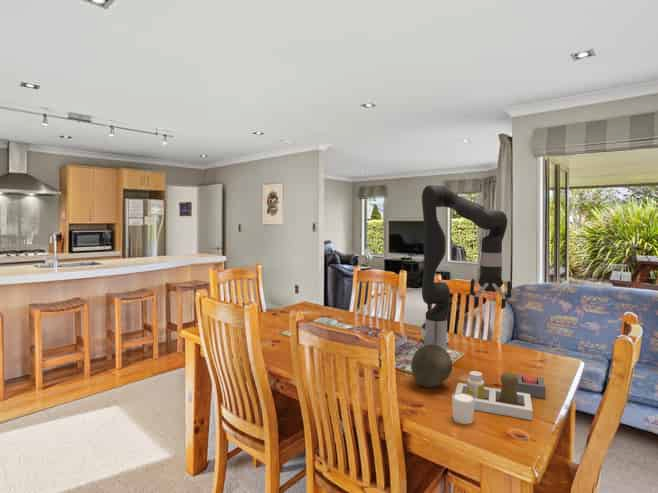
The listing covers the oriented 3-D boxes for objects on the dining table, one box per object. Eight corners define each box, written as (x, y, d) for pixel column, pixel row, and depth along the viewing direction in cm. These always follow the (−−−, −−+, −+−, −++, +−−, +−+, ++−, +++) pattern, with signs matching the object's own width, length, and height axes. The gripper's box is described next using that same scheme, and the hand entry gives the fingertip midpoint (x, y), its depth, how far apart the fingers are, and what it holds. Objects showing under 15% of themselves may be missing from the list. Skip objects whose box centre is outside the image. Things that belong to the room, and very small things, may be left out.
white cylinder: (447, 414, 125) (448, 393, 125) (468, 413, 126) (469, 391, 125) (457, 425, 118) (457, 403, 118) (479, 424, 119) (479, 401, 119)
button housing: (515, 394, 139) (516, 383, 139) (515, 384, 148) (515, 373, 147) (545, 398, 136) (545, 387, 136) (542, 388, 144) (543, 377, 144)
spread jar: (418, 340, 199) (419, 318, 198) (435, 337, 204) (436, 315, 204) (435, 347, 189) (436, 323, 188) (453, 344, 194) (453, 320, 193)
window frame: (453, 406, 131) (454, 397, 130) (457, 390, 142) (457, 382, 142) (532, 420, 122) (532, 410, 121) (529, 402, 133) (530, 394, 133)
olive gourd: (520, 412, 126) (521, 378, 126) (500, 410, 128) (501, 377, 127) (516, 403, 132) (517, 371, 131) (496, 402, 134) (497, 370, 133)
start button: (523, 387, 140) (523, 379, 140) (522, 382, 144) (522, 374, 144) (537, 389, 139) (537, 381, 138) (536, 384, 143) (536, 376, 142)
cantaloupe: (421, 395, 138) (421, 353, 137) (405, 379, 152) (406, 341, 151) (458, 392, 141) (459, 350, 140) (439, 376, 155) (440, 338, 154)
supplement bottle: (483, 399, 136) (484, 371, 135) (484, 406, 130) (485, 377, 130) (466, 397, 137) (467, 369, 137) (466, 403, 132) (467, 375, 132)
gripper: (470, 264, 147) (468, 308, 148) (512, 266, 141) (510, 311, 143) (471, 262, 154) (470, 303, 155) (511, 264, 148) (510, 307, 149)
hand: (489, 307), depth 149 cm, fingers open, 8 cm apart
